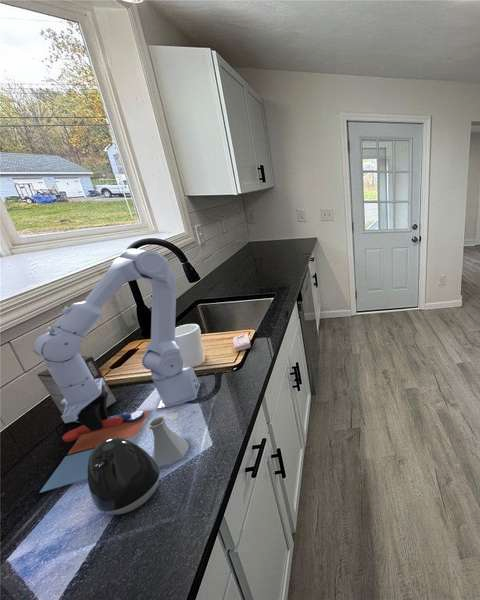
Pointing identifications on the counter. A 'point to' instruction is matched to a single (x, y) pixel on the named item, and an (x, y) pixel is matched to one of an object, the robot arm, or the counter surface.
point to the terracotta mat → (108, 434)
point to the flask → (166, 443)
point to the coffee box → (56, 392)
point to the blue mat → (70, 470)
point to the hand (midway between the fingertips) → (100, 425)
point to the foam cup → (190, 344)
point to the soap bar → (241, 342)
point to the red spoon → (84, 430)
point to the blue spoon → (130, 416)
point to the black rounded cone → (121, 476)
